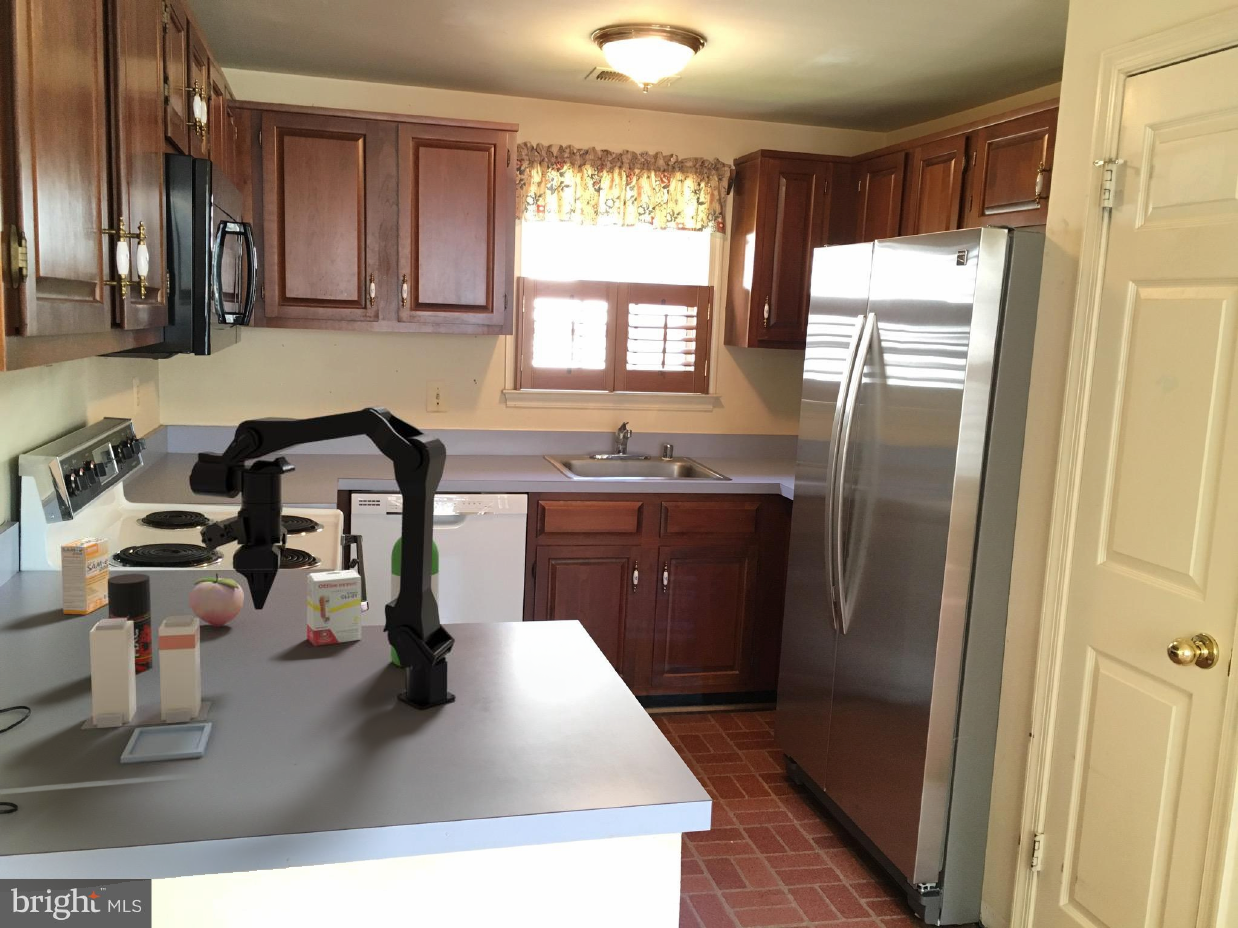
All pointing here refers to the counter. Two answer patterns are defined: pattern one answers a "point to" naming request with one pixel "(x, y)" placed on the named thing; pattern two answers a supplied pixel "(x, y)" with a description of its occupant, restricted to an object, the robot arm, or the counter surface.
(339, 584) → the ink box
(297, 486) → the counter surface
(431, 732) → the counter surface
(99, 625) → the block
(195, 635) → the block
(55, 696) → the counter surface
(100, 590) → the supplement box
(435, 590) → the wine bottle
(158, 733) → the tray
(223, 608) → the decorative fruit
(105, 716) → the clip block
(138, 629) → the deodorant
